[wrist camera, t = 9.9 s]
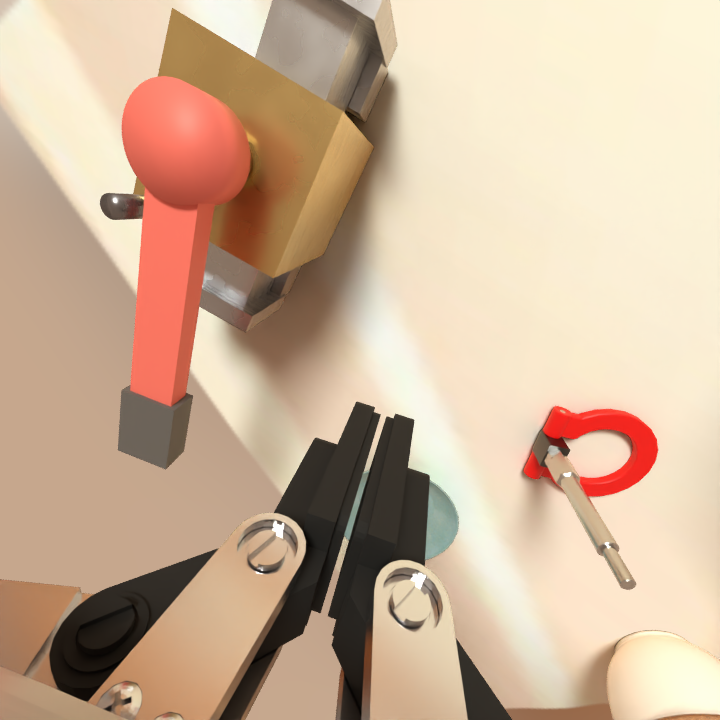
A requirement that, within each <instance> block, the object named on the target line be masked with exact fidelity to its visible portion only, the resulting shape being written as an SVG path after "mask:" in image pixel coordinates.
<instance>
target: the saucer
mask: <svg viewBox="0 0 720 720" xmlns="http://www.w3.org/2000/svg"><path fill="white" fill-rule="evenodd" d="M368 474H369V471H366V472H363V475H362V478H361V481H360V485H359V488H358V491H357V495H356V498H355V501H354V505H353V508H352V511H351V514H350V518H349V521H348V524H347V528H346V531H345V534H344V536H345V537H346V538H347V539H348V540H349V539H350V536H351V532H352V529H353V525H354V522H355V518H356V514H357V511H358V507H359V504H360V500H361V497H362V493H363V490H364V487H365V484H366V480H367V477H368ZM458 518H459V517H458V514H457V511H456V508H455V506H454V504H453V502H452V500H451V499H450V497H449V496H448V495H447V494H446V493H445V492H444V491H443V490H442V489H441V488H440V487H439V486H438V485H436V484H435V483H434V482H432V481H431V480H430V484H429V501H428V518H427V535H426V552H425V560H428V559H430V558H433V557H435V556H437V555H439V554H440V553H442V552H443V551H445V550H446V549H447V548H448V547H449V546H450V545H451V543H452V542H453V540H454V539H455V537H456V534H457V531H458V524H459V521H458V520H459V519H458Z"/></svg>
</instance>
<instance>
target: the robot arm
mask: <svg viewBox="0 0 720 720" xmlns="http://www.w3.org/2000/svg"><path fill="white" fill-rule="evenodd" d="M374 409H375V407H372V406H369V405H366V404H363V403H360V402H356V404H355V406H354V408H353V411H352V413H351V415H350V417H349V420H348V422H347V424H346V426H345V429H344V431H343V433H342V436H341V438H340V440H339V442H338V445H337V444H334V443H331V442H328V441H325V440H322V439H319V438H315V439H314V441H313V442H312V444H311V446H310V448H309V449H308V451H307V453H306V455H305V457H304V459H303V460H302V462H301V464H300V466H299V468H298V470H297V471H296V473H295V475H294V477H293V479H292V480H291V482H290V484H289V486H288V488H287V490H286V491H285V493H284V495H283V497H282V499H281V501H280V503H279V504H278V506H277V508H276V510H275V512H274V513H263V514H258V515H255V516H253V517H251V518H249V519H246V520H245V521H244V522H243V523H241V524H240V525H239V526H238V527H237V528H236V529H235V530H234V532H233V533H232V534H231V535H230V536H229V537H228V539H227V540H226V541H225V542H224V543H223V544H222V546H221V547H220V548H218V549H215V550H213V551H210V552H207V553H204V554H201V555H199V556H196V557H193V558H190V559H187V560H185V561H182V562H179V563H176V564H174V565H171V566H168V567H165V568H162V569H160V570H157V571H154V572H151V573H148V574H146V575H143V576H140V577H137V578H134V579H132V580H129V581H126V582H123V583H120V584H118V585H115V586H112V587H109V588H107V589H104V590H102V591H100V592H98V593H96V594H87V593H81V589H80V587H71V586H61V585H52V584H41V583H32V582H22V581H12V580H2V579H0V720H245V719H246V717H247V716H248V714H249V712H250V710H251V707H252V706H253V704H254V702H255V700H256V698H257V696H258V694H259V692H260V690H261V688H262V686H263V684H264V683H265V680H266V679H267V677H268V675H269V673H270V671H271V669H272V667H273V665H274V663H275V661H276V659H277V657H278V655H279V653H280V651H281V649H282V646H283V645H284V644H285V643H287V642H289V641H291V640H293V639H294V638H296V637H298V636H300V635H301V634H303V632H304V628H305V626H306V625H307V623H308V620H309V616H310V613H311V610H313V611H316V612H318V613H321V610H322V606H323V603H324V600H325V596H326V593H327V590H328V587H329V583H330V580H331V577H332V574H333V570H334V567H335V564H336V560H337V557H338V554H339V551H340V547H341V544H342V541H343V537H344V534H345V531H346V528H347V524H348V521H349V518H350V514H351V511H352V508H353V505H354V501H355V498H356V495H357V491H358V488H359V485H360V481H361V478H362V475H363V471H364V468H365V465H366V461H367V458H368V455H369V452H370V448H371V445H372V442H373V438H374V435H375V432H376V428H377V425H378V422H379V418H380V415H381V414H377V413H374ZM413 426H414V419H410V418H407V417H404V416H401V415H398V414H395V416H394V419H393V418H390V417H386V420H385V423H384V426H383V429H382V433H381V436H380V439H379V442H378V445H377V449H376V452H375V455H374V458H373V461H372V464H371V468H370V471H369V474H368V477H367V480H366V484H365V487H364V490H363V493H362V497H361V500H360V504H359V507H358V511H357V514H356V518H355V522H354V525H353V529H352V532H351V536H350V539H349V543H348V546H347V550H346V553H345V557H344V560H343V564H342V567H341V571H340V574H339V578H338V582H337V585H336V589H335V592H334V596H333V599H332V603H331V606H330V610H329V614H328V616H329V617H331V618H334V619H336V623H335V627H334V631H333V634H332V635H333V636H334V638H333V643H332V647H333V649H334V651H335V653H336V656H337V658H338V660H339V662H340V664H341V667H342V668H341V673H340V679H339V689H338V699H337V709H336V720H512V719H511V717H510V716H509V715H508V713H507V712H506V710H505V709H504V707H503V706H502V704H501V703H500V701H499V700H498V699H497V697H496V696H495V694H494V693H493V691H492V690H491V688H490V687H489V685H488V684H487V683H486V681H485V680H484V678H483V677H482V675H481V674H480V672H479V671H478V669H477V668H476V667H475V665H474V664H473V662H472V661H471V659H470V658H469V656H468V655H467V653H466V652H465V651H464V649H463V648H462V646H461V645H460V643H459V642H458V640H457V639H456V637H455V630H454V623H453V617H452V610H451V604H450V601H449V597H448V594H447V592H446V590H445V588H444V586H443V585H442V583H441V581H440V580H439V579H438V578H437V577H436V576H435V575H434V573H433V572H432V571H430V570H429V569H427V568H426V567H425V552H426V535H427V518H428V501H429V484H430V477H429V475H428V474H425V473H422V472H419V471H416V470H413V469H410V468H408V461H409V454H410V447H411V440H412V433H413Z"/></svg>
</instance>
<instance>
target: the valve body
mask: <svg viewBox="0 0 720 720" xmlns="http://www.w3.org/2000/svg"><path fill="white" fill-rule="evenodd" d="M396 47H397V39H396V33H395V27H394V21H393V16H392V10H391V4H390V0H273V1H272V4H271V7H270V11H269V14H268V17H267V20H266V24H265V27H264V30H263V34H262V37H261V40H260V43H259V47H258V50H257V53H256V56H255V58H254V57H252V56H251V55H249V54H247V53H246V52H244V51H243V50H241V49H239V48H238V47H236V46H234V45H233V44H231V43H229V42H228V41H226V40H224V39H223V38H221V37H219V36H218V35H216V34H214V33H213V32H211V31H210V30H208V29H206V28H205V27H203V26H201V25H200V24H198V23H196V22H195V21H193V20H191V19H190V18H188V17H186V16H185V15H183V14H181V13H180V12H178V11H177V10H175V9H173V8H172V11H171V16H170V21H169V26H168V31H167V35H166V40H165V45H164V50H163V54H162V59H161V64H160V69H159V74H158V77H161V76H167V77H173V78H177V79H180V80H182V81H184V82H186V83H188V84H190V85H192V86H194V87H196V88H198V89H200V90H202V91H204V92H206V93H207V94H209V95H211V96H213V97H215V98H217V99H219V100H220V101H222V102H223V103H225V104H226V105H227V106H228V107H229V108H230V109H231V110H232V111H233V112H234V113H235V115H236V116H237V117H238V119H239V120H240V122H241V124H242V126H243V128H244V130H245V132H246V135H247V138H248V142H249V147H250V170H249V174H248V178H247V180H246V183H245V185H244V186H243V188H242V190H241V191H240V192H239V193H238V194H237V195H236V196H235V197H234V198H233V199H232V200H230V201H228V202H226V203H224V204H221V205H215V206H214V213H213V219H212V226H211V233H210V239H209V246H208V252H207V259H206V265H205V272H204V278H203V285H202V291H201V298H200V304H199V307H201V308H203V309H205V310H206V311H208V312H210V313H212V314H214V315H215V316H217V317H219V318H221V319H223V320H224V321H226V322H228V323H230V324H231V325H233V326H235V327H237V328H239V329H240V330H242V331H244V332H247V331H248V330H250V329H251V328H253V327H254V326H255V325H257V324H258V323H260V322H261V321H263V320H264V319H265V318H267V317H268V316H270V315H271V314H273V313H274V312H276V311H277V310H278V309H280V308H281V305H282V303H283V301H284V299H285V296H286V295H285V294H287V293H288V292H290V290H291V287H292V285H293V283H294V281H295V278H296V276H297V274H298V272H299V270H300V267H301V265H303V264H305V263H307V262H309V261H311V260H313V259H315V258H318V257H320V256H322V255H324V253H325V250H326V248H327V246H328V244H329V242H330V240H331V238H332V236H333V233H334V231H335V229H336V227H337V225H338V223H339V221H340V219H341V216H342V214H343V212H344V210H345V208H346V206H347V204H348V202H349V199H350V197H351V195H352V193H353V191H354V189H355V187H356V184H357V182H358V180H359V178H360V176H361V174H362V172H363V170H364V167H365V165H366V163H367V161H368V159H369V157H370V155H371V153H372V150H373V148H374V147H373V146H372V144H371V143H370V142H369V141H368V140H367V139H366V137H365V136H364V135H363V134H362V133H361V132H360V131H359V129H358V128H357V127H356V126H355V125H354V124H353V122H352V121H351V120H350V119H349V118H348V117H347V115H346V114H345V111H348V112H349V113H351V114H353V115H354V116H356V117H358V118H359V119H361V120H363V121H364V122H366V120H367V118H368V116H369V113H370V111H371V109H372V107H373V104H374V102H375V100H376V98H377V95H378V93H379V91H380V89H381V87H382V84H383V82H384V80H385V78H386V75H387V73H388V69H387V67H388V65H389V63H390V61H391V59H392V56H393V54H394V52H395V50H396ZM144 194H145V186H144V185H143V184H142V183H141V181H140V180H139V179H138V177H137V179H136V183H135V188H134V193H133V194H115V193H106V194H104V195H103V196H102V197H101V200H100V206H101V209H102V211H103V213H104V214H105V215H106V216H107V217H108V218H110V219H113V220H121V219H143V208H144Z"/></svg>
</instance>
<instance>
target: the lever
mask: <svg viewBox="0 0 720 720" xmlns="http://www.w3.org/2000/svg"><path fill="white" fill-rule="evenodd" d="M122 138H123V144H124V149H125V152H126V156H127V158H128V161H129V163H130V165H131V167H132V169H133V171H134V173H135V174H136V176H137V177H138V179H139V180H140V181H141V183H142V184H143V185H144V186H145V194H144V208H143V221H142V235H141V249H140V263H139V277H138V290H137V305H136V319H135V332H134V345H133V359H132V360H133V361H132V374H131V385H130V386H128V387H126V388H124V389H123V390H122V392H121V408H120V425H119V443H118V450H119V451H121V452H124V453H126V454H129V455H131V456H134V457H136V458H139V459H141V460H144V461H146V462H149V463H151V464H154V465H156V466H159V467H162V468H164V469H167V468H168V467H169V465H171V464H172V463H173V462H174V461H175V459H177V458H178V456H179V455H181V453H182V452H183V451H184V447H185V441H186V435H187V429H188V423H189V416H190V411H191V404H192V399H193V395H190V394H188V393H186V389H187V382H188V376H189V369H190V363H191V356H192V350H193V343H194V337H195V330H196V324H197V317H198V311H199V304H200V298H201V291H202V285H203V278H204V272H205V265H206V259H207V252H208V246H209V239H210V233H211V226H212V219H213V213H214V206H215V205H221V204H224V203H226V202H228V201H230V200H232V199H233V198H234V197H235V196H236V195H237V194H238V193H239V192H240V191H241V190H242V188H243V186H244V185H245V183H246V180H247V178H248V174H249V170H250V147H249V142H248V138H247V135H246V132H245V130H244V128H243V126H242V124H241V122H240V120H239V119H238V117H237V116H236V115H235V113H234V112H233V111H232V110H231V109H230V108H229V107H228V106H227V105H226V104H225V103H223V102H222V101H220V100H219V99H217V98H215V97H213V96H211V95H209V94H207V93H206V92H204V91H202V90H200V89H198V88H196V87H194V86H192V85H190V84H188V83H186V82H184V81H182V80H180V79H177V78H173V77H167V76H161V77H154V78H151V79H148V80H146V81H144V82H143V83H141V84H140V85H139V86H138V87H137V88H136V89H135V90H134V91H133V92H132V94H131V95H130V97H129V99H128V101H127V103H126V106H125V109H124V113H123V118H122Z"/></svg>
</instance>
